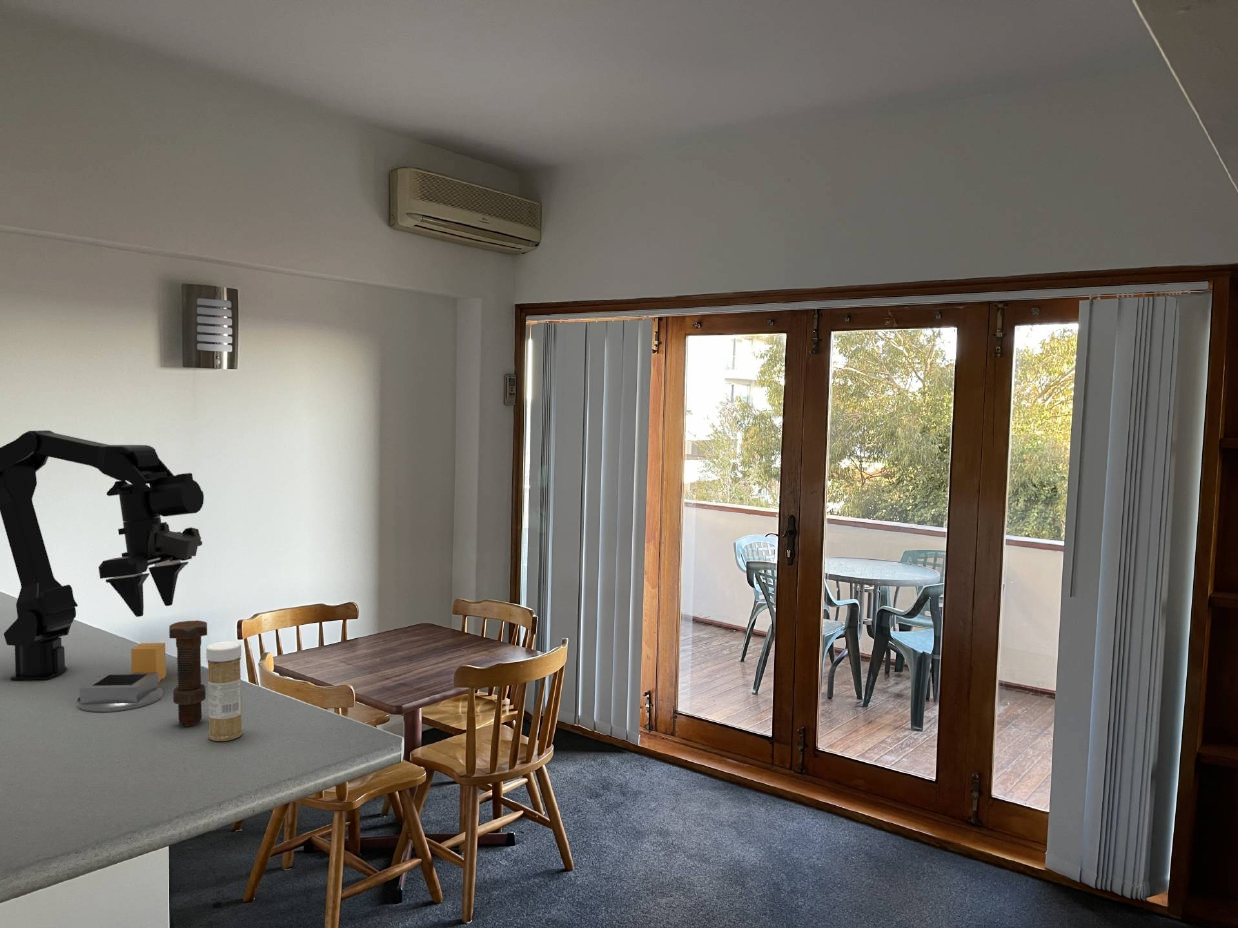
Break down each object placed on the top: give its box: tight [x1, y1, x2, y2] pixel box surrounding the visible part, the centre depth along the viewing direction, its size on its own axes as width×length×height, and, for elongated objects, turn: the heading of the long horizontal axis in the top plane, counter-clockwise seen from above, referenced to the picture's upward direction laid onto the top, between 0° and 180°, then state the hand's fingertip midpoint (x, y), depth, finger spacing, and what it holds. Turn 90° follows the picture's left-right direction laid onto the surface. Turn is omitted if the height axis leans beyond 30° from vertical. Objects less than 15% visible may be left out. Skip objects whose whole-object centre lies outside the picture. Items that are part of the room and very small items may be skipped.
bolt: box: [168, 620, 208, 728], centre depth 137 cm, size 6×5×15 cm
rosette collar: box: [76, 671, 163, 713], centre depth 148 cm, size 12×12×3 cm
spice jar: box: [206, 640, 243, 742], centre depth 132 cm, size 5×5×14 cm
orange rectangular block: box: [130, 642, 167, 682], centre depth 159 cm, size 4×4×6 cm
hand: (154, 610), depth 156 cm, fingers open, 9 cm apart
